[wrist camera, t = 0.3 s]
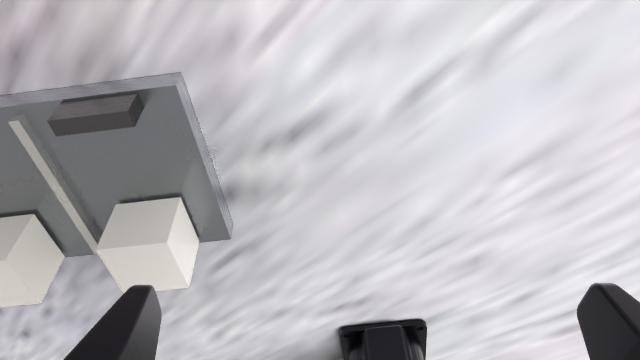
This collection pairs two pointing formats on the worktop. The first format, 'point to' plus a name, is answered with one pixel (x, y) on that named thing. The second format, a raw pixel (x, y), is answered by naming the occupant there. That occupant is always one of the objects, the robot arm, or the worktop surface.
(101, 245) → the white square block
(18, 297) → the matte white cube
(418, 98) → the worktop surface
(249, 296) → the worktop surface
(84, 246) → the strip
